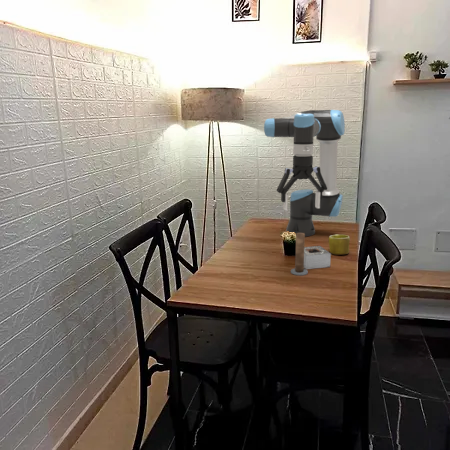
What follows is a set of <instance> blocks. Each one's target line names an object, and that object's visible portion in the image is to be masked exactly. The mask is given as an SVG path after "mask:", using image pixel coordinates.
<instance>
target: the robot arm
mask: <svg viewBox="0 0 450 450" xmlns="http://www.w3.org/2000/svg"><path fill="white" fill-rule="evenodd" d="M345 125H346V124H345V117H344V113H343V112H342V111H341V110H338V109H315V110H314V109H308V110H304V111H300V112H296V113H295V112H294V113H293V114H291V115H290V116H283V117H279V118H278V117H277V118H275V117H273V118H272V117H271V118H266V119H265V121H264V125H263V130H264V132H263V133H264V135H265V136H266V137H267V138H268V137H269V138H293V144H292V145H293V146H292V147H293V149H292V151H293V153H292V154H293V156H292V158H293V159H292V168H288V167H285V168H284V174H283V175H282V178H281V180H280V182H279V184H278V186H277V189H276V192H277V193H279V194H280V201H281V202H282V203H283V205H282V210H284V211H286V212H288V204H289V221H288V223H287V226H286V231H289V232H295V233H304V234H305V237H311V236H313V235H315V234H316V228H315V225H314V222H313V216H321V217H331V218H332V217H335V218H336V217H338V216H339V214H340V213H341V208H342V203H343V199H344V198H343V197H344V195H343V194H341V193H340V191H341V190H340V189H339V188H338V187H337V185H338V184H337V183H338V182H337V180H338V179H337V178H338V142H339V141H340V140H341V138H342V136H344V135H345V130H346V129H345V128H346V127H345ZM315 137H316V140H317V142H319V150H318V151H319V153H318V155H319V157H318V158H319V163H318V165H319V166H314V167H313V165H314V156H313V154H314V138H315ZM313 173H315V175H316V178H317V181H318V182H317V181H316V178H314V176H313V175H312V174H313ZM291 174H292V176H291V178H290V179H289V177H290V175H291ZM288 179H289V180H288ZM298 180H300V181H301V180H309V181H310V182H311V184H312V185H313V186H314V188H315V189H316V191H315V192H314V190H313V189H308V188H307V189H299V190H294V191H292V192H291V194H290V199H289V203H288V197H289V196H288V193H287V192H288V191H289V190H290V188H292V186H294V183H295V182H297V181H298ZM287 181H288V182H287Z"/></svg>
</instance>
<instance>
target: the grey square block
mask: <svg viewBox="0 0 450 450" xmlns="http://www.w3.org/2000/svg"><path fill="white" fill-rule="evenodd" d="M331 256H332V254H331V253H330V251H328V250H326V249H325V248H324V247H323V246H321V245H313V246H304V269H306V270H311V269H312V270H313V269H322V268H330V267H331V259H332V258H331Z"/></svg>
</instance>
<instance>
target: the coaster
mask: <svg viewBox="0 0 450 450" xmlns="http://www.w3.org/2000/svg"><path fill="white" fill-rule="evenodd" d="M308 270H309V269H305V268H304V271H303V272H301V273H299V272H296V271H295V267H294V268H292V269H290V274H292V275H294V276H300V277H301V276H306V275H308V273H309V272H308Z"/></svg>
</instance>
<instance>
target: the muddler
mask: <svg viewBox="0 0 450 450" xmlns="http://www.w3.org/2000/svg"><path fill="white" fill-rule="evenodd" d="M305 237H306V236H305V234H304V233H296V236H295V259H294V260H295V265H294V266H295V267H294V268H295V271H296V272H299V273H301V272H303V271H304V269H305V268H304V247H305V239H306V238H305Z"/></svg>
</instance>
